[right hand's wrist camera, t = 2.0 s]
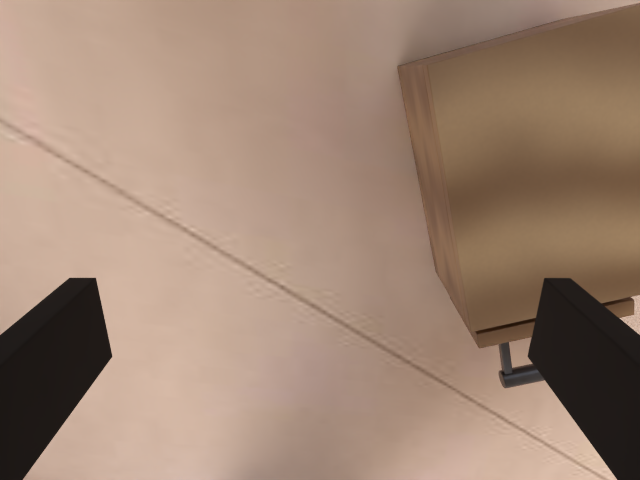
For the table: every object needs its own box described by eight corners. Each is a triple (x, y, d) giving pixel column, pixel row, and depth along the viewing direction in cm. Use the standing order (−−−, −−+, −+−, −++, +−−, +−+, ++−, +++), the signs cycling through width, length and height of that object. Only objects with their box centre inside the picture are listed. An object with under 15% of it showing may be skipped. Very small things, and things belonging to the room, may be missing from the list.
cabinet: (575, 239, 36) (655, 291, 27) (435, 272, 37) (470, 332, 28) (563, 19, 30) (660, -2, 21) (397, 66, 31) (426, 64, 22)
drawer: (579, 325, 37) (634, 380, 31) (459, 351, 38) (488, 409, 32) (564, 74, 30) (634, 75, 23) (417, 114, 31) (443, 126, 24)
